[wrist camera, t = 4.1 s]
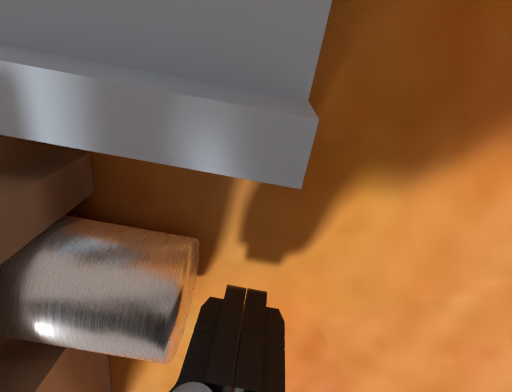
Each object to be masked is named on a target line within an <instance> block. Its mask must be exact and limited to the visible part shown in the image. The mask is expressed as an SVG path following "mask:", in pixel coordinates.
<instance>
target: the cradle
mask: <svg viewBox="0 0 512 392" xmlns="http://www.w3.org/2000/svg"><path fill="white" fill-rule="evenodd" d="M331 4H332V0H0V135H5V136H10V137H16V138H21V139H27V140H32V141H38V142H43V143H49V144H54V145H60V146H65V147H71V148H76V149H82V150H87V151H93V152H98V153H104V154H109V155H115V156H120V157H126V158H131V159H137V160H142V161H148V162H153V163H159V164H164V165H170V166H175V167H181V168H186V169H192V170H197V171H203V172H208V173H214V174H219V175H225V176H230V177H236V178H241V179H247V180H252V181H258V182H263V183H269V184H274V185H280V186H285V187H291V188H296V189H301V188H302V184H303V180H304V176H305V172H306V169H307V165H308V161H309V157H310V153H311V150H312V146H313V142H314V138H315V134H316V131H317V127H318V123H319V118H318V116H317V115H316V113H315V111H314V109H313V108H312V106H311V104H310V103H309V101H308V100H309V96H310V92H311V87H312V83H313V79H314V75H315V71H316V67H317V62H318V58H319V54H320V50H321V46H322V41H323V37H324V33H325V29H326V25H327V21H328V16H329V12H330V8H331Z"/></svg>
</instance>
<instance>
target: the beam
mask: <svg viewBox="0 0 512 392" xmlns="http://www.w3.org/2000/svg"><path fill="white" fill-rule="evenodd" d="M92 193H94V188H93V177H92V166H91V155H90V152H85V151H79V150H74V149H68V148H63V147H57V146H52V145H46V144H41V143H35V142H30V141H24V140H19V139H13V138H8V137H2V136H0V265H1V264H2V263H3V262H4V261H6V260H7V259H8V258H10V257H11V256H12V255H14V254H15V253H16V252H17V251H19V250H20V249H21V248H23V247H24V246H25V245H26V244H28V243H29V242H30V241H32V240H33V239H34V238H35V237H37V236H38V235H39V234H41V233H42V232H43V231H45V230H46V229H47V228H48V227H50V226H51V225H52V224H54V223H55V222H56V221H57V220H59V219H60V218H61V217H63V216H64V215H65V214H67V213H68V212H69V211H70V210H72V209H73V208H74V207H76V206H77V205H78V204H79V203H81V202H82V201H83V200H85V199H86V198H87V197H88V196H90V195H91V194H92ZM0 392H112V385H111V374H110V363H109V354H103V353H97V352H91V351H85V350H79V349H74V348H68V347H62V346H56V345H50V344H44V343H38V342H32V341H26V340H21V339H15V338H9V337H3V336H0Z"/></svg>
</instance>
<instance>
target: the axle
mask: <svg viewBox="0 0 512 392" xmlns="http://www.w3.org/2000/svg"><path fill="white" fill-rule="evenodd" d="M199 251H200V247H199V240H198V239H197V238H192V237H186V236H181V235H175V234H169V233H163V232H158V231H152V230H146V229H141V228H135V227H129V226H123V225H118V224H112V223H106V222H100V221H95V220H89V219H83V218H78V217H72V216H66V215H64V216H63V217H61V218H60V219H59V220H57V221H56V222H55V223H54V224H52V225H51V226H50V227H48V228H47V229H46V230H45V231H43V232H42V233H41V234H39V235H38V236H37V237H35V238H34V239H33V240H32V241H30V242H29V243H28V244H26V245H25V246H24V247H23V248H21V249H20V250H19V251H17V252H16V253H15V254H14V255H12V256H11V257H10V258H8V259H7V260H6V261H4V262H3V263H2V264H1V265H0V336H3V337H9V338H15V339H21V340H26V341H32V342H38V343H44V344H50V345H56V346H62V347H68V348H74V349H79V350H85V351H91V352H97V353H103V354H109V355H115V356H121V357H127V358H132V359H138V360H144V361H150V362H156V363H162V364H169V363H170V362H171V361H172V359H173V357H174V355H175V353H176V351H177V348H178V346H179V343H180V340H181V338H182V335H183V332H184V328H185V325H186V322H187V318H188V314H189V310H190V306H191V302H192V298H193V293H194V288H195V283H196V278H197V271H198V264H199Z"/></svg>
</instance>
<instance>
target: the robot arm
mask: <svg viewBox="0 0 512 392" xmlns="http://www.w3.org/2000/svg"><path fill="white" fill-rule="evenodd" d="M245 294H246V288H243V287H237V286H232V285H227V288H226V293H225V297H224V299H220V298H214V297H210V298H209V299H208V300H207V301H206V302H205V303H204V304H203V305H202V307H201V309H200V312H199V315H198V319H197V323H196V325H195V328H194V332H193V335H192V338H191V341H190V344H189V347H188V350H187V354H186V357H185V360H184V363H183V366H182V369H181V373H180V376H179V378H178V381H177V382H176V384H175V386H174V387H173V388H172V389H171V390H170V391H169V392H285V350H284V348H285V339H284V336H285V324H284V320H283V318H282V315H281V313H280V311H279V309H275V308H269V307H266V301H267V292H265V291H260V290H254V289H249V288H248V289H247V294H246V299H245ZM244 301H245V304H244ZM243 308H244V309H243Z"/></svg>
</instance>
